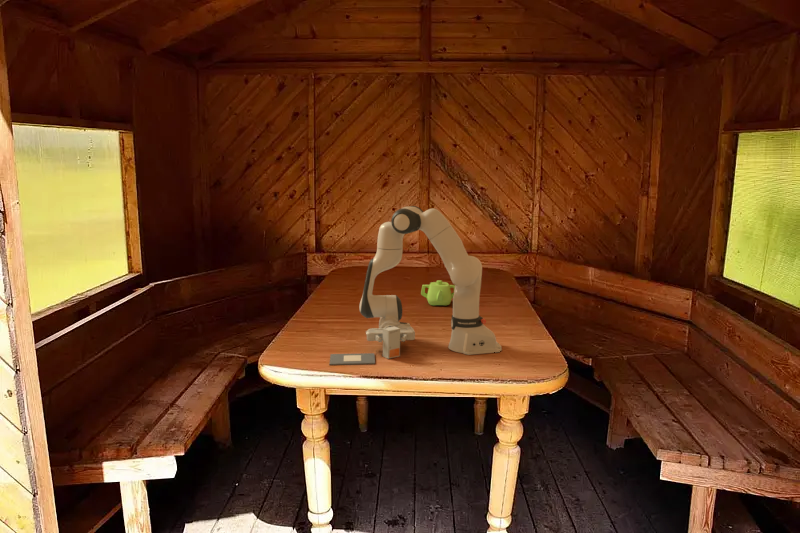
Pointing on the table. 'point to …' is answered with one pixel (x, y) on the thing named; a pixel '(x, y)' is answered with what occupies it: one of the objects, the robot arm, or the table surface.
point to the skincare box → (391, 342)
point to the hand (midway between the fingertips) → (391, 340)
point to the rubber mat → (352, 359)
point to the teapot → (438, 293)
